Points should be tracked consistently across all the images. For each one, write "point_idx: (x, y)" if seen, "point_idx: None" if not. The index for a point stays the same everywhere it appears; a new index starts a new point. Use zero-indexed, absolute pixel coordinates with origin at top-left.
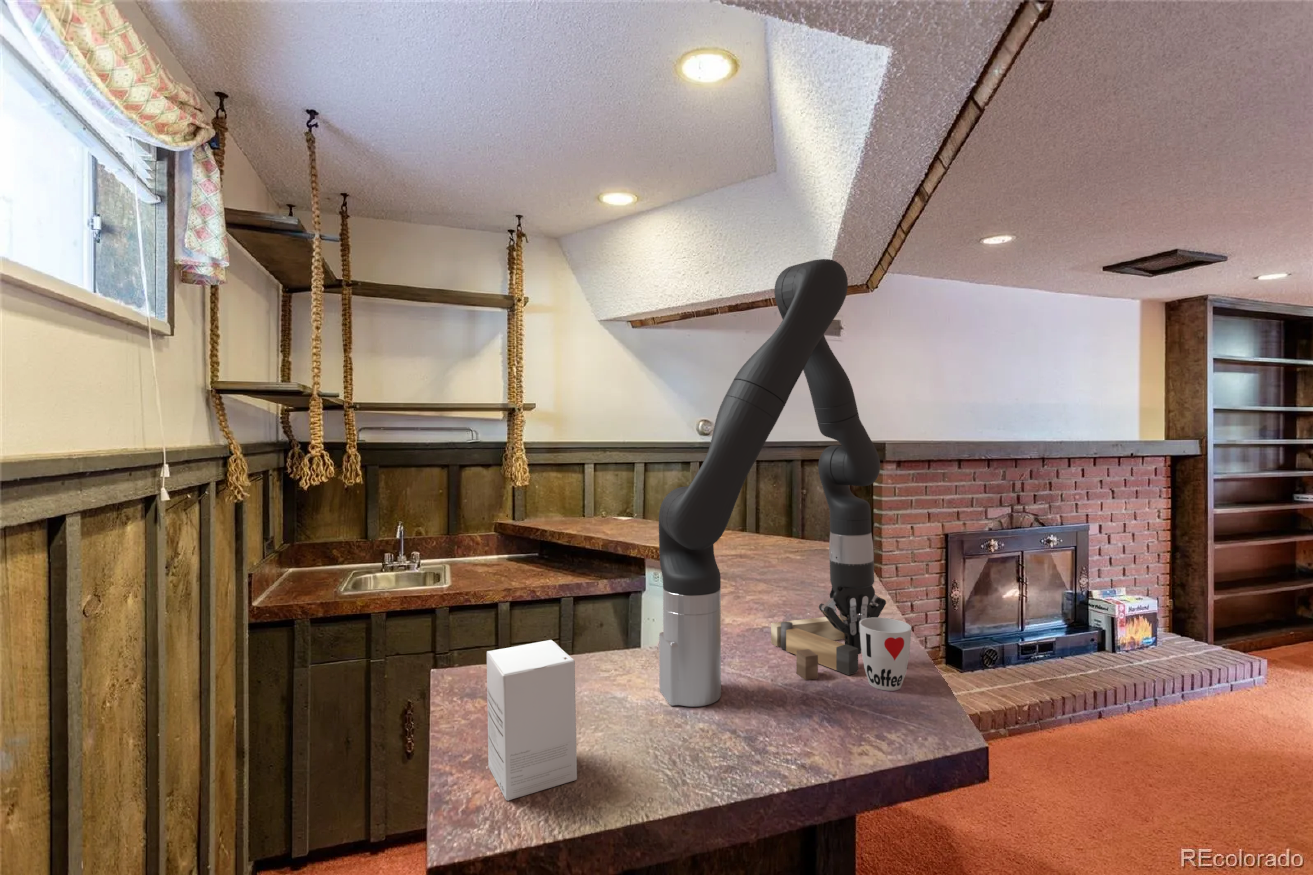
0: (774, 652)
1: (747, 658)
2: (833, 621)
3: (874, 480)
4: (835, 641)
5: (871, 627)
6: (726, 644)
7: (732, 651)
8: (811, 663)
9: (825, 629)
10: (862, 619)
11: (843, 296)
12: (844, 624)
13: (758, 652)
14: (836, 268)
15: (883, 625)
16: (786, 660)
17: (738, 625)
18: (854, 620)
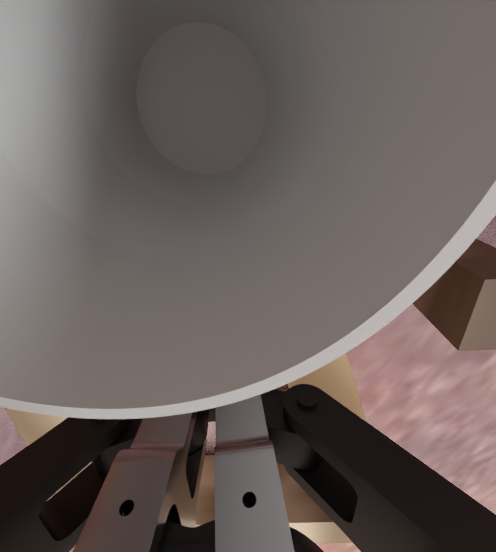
0: (391, 428)
1: (492, 414)
2: (420, 469)
3: None
4: (290, 385)
5: (149, 323)
6: (465, 484)
7: (488, 453)
8: (494, 261)
9: (201, 492)
10: (266, 391)
11: None
12: (315, 434)
13: (431, 436)
14: None
15: (6, 307)
16: (401, 381)
17: (354, 547)
18: (240, 453)
